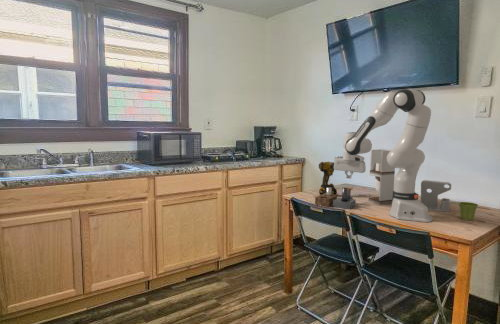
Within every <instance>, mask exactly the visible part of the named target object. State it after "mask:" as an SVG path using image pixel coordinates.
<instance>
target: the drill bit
mask: <svg viewBox="0 0 500 324" xmlns="http://www.w3.org/2000/svg"><path fill="white" fill-rule="evenodd" d="M346 187H347V186H346ZM346 187H345V186H344V187H342V189H341V198H342V201H347V188H346Z"/></svg>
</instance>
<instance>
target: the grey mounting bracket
mask: <svg viewBox="0 0 500 324" xmlns="http://www.w3.org/2000/svg"><path fill="white" fill-rule="evenodd" d="M446 185H448V186H449V187H445V186H446ZM428 189H429V190H431V191H430V192H428V191H427V190H428ZM451 189H452V183H450V182H448V181H439V180H429V179H428V180H427V179H424V180H422V181H421V182H420V201H421V202H422V203H423V204H424V205H425V206H427V208H428V211H436V212H443V213H449V212H450V206H451V199H450V198H445V197H444V198H441V200H440V205H439V206H438V199H439V197H438V196H439V195H442V194H445V193H446V192H449V191H451Z"/></svg>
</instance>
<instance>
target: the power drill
mask: <svg viewBox="0 0 500 324" xmlns="http://www.w3.org/2000/svg"><path fill="white" fill-rule="evenodd" d="M318 169H319V170H320V172H321V173H323V177H322V182H321V185H320V188H319V190H318V191H319V192H318V194H319V196H320V195H322V194H324V193H326V191H327V187H331V188H332V189H331V194H334V195H337V196H338V191H337V188H336V187H335V186H334V184H333V183H329V181H330V177H331V176H333V173H334V172H335V170H334V161H331V162H330V161H321V162H319V164H318Z"/></svg>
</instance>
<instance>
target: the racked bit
mask: <svg viewBox="0 0 500 324" xmlns="http://www.w3.org/2000/svg"><path fill="white" fill-rule="evenodd" d="M331 189H332V188H331V187H327V191H326V196H331Z"/></svg>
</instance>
